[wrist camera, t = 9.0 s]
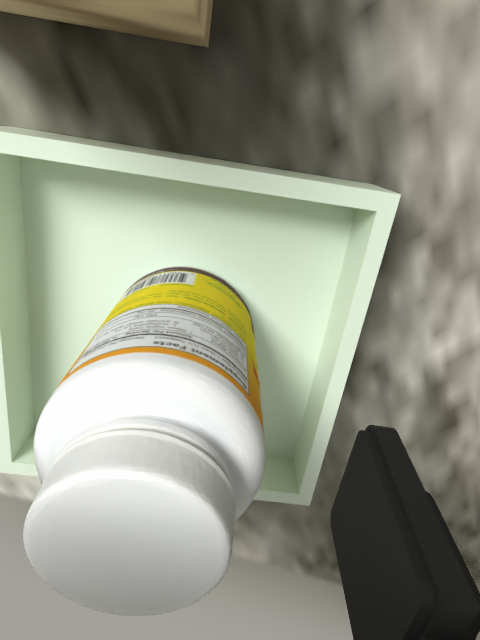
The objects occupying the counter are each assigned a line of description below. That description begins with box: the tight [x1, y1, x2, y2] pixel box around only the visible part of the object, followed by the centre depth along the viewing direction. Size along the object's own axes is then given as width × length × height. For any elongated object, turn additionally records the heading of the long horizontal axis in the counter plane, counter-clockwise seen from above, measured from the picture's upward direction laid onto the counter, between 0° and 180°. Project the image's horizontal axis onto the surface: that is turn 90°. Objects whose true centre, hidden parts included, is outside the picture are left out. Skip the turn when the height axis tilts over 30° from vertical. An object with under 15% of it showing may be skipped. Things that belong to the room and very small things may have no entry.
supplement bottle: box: [23, 266, 265, 616], centre depth 13 cm, size 6×6×10 cm
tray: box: [0, 126, 401, 506], centre depth 17 cm, size 13×13×3 cm
